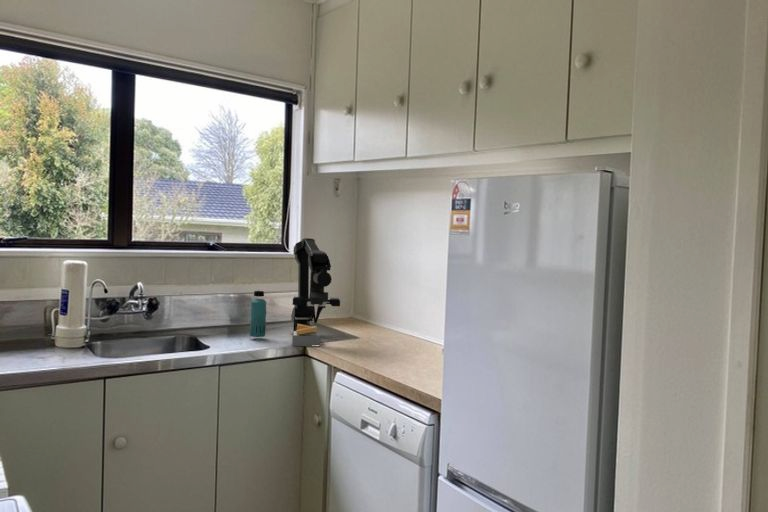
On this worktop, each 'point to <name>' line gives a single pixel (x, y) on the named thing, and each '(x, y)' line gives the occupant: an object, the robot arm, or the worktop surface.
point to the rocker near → (306, 330)
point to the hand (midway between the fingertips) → (315, 322)
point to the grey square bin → (306, 339)
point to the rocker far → (302, 326)
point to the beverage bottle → (258, 316)
